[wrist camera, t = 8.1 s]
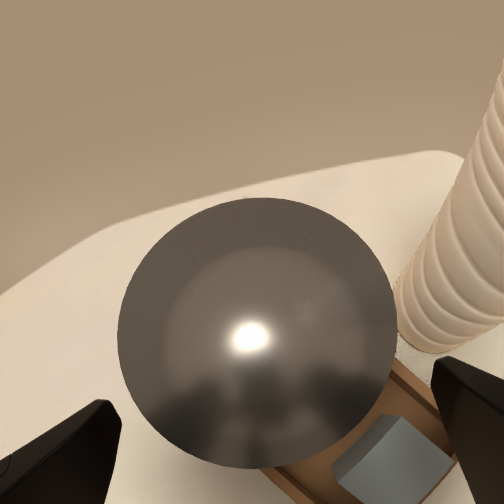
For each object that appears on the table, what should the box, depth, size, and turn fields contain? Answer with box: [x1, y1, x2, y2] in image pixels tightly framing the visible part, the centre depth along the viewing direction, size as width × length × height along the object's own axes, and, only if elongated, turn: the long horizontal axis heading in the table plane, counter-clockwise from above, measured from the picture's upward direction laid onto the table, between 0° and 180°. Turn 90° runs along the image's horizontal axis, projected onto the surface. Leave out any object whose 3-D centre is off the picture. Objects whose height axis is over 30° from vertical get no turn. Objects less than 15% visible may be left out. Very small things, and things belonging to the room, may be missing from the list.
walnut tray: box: [260, 357, 458, 504], centre depth 15 cm, size 15×9×3 cm, turn 44°
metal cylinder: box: [117, 198, 398, 469], centre depth 11 cm, size 5×5×13 cm
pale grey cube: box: [330, 414, 455, 504], centre depth 12 cm, size 4×4×4 cm
